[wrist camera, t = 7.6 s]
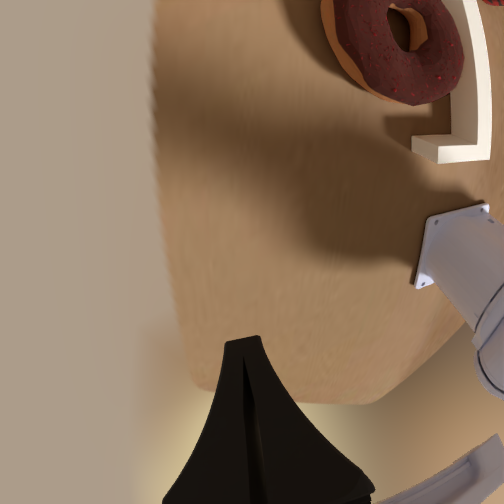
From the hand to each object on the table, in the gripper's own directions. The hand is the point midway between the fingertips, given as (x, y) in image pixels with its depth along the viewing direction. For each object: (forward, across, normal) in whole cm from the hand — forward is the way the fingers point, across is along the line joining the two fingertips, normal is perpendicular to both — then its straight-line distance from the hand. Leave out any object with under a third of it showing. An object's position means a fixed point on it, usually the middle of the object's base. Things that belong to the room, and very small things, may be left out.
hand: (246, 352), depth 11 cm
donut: (+10, -13, -12) cm, 20 cm away
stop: (+9, -18, -12) cm, 24 cm away
